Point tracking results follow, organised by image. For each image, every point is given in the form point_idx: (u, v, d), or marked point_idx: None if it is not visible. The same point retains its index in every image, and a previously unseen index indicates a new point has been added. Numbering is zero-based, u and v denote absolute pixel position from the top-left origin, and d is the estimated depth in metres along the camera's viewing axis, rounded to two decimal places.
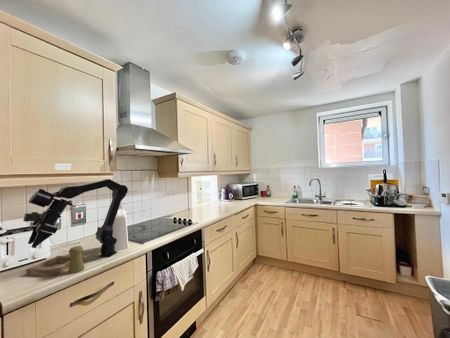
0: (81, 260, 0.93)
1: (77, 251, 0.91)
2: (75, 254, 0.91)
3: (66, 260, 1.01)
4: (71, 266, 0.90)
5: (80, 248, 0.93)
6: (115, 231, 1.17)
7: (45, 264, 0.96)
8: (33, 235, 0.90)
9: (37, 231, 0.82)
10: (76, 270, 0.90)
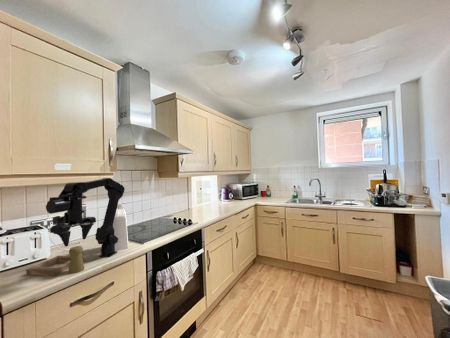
0: (81, 260, 0.93)
1: (77, 251, 0.91)
2: (75, 254, 0.91)
3: (66, 260, 1.01)
4: (71, 266, 0.90)
5: (80, 248, 0.93)
6: (115, 231, 1.17)
7: (45, 264, 0.96)
8: (83, 232, 0.98)
9: (55, 233, 0.86)
10: (76, 270, 0.90)
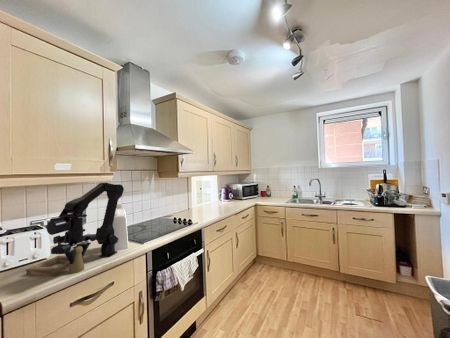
0: (81, 260, 0.93)
1: (77, 251, 0.91)
2: (75, 254, 0.91)
3: (66, 260, 1.01)
4: (71, 266, 0.90)
5: (80, 248, 0.93)
6: (115, 231, 1.17)
7: (45, 264, 0.96)
8: None
9: None
10: (76, 270, 0.90)
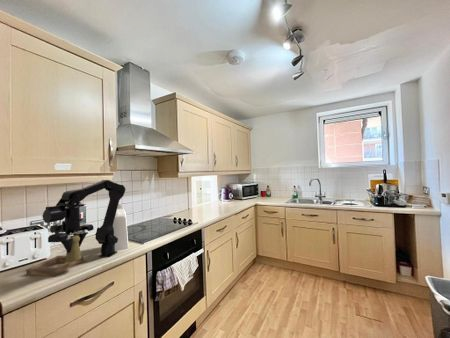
0: (78, 249, 0.93)
1: (74, 240, 0.92)
2: (72, 243, 0.91)
3: None
4: (68, 255, 0.91)
5: (77, 237, 0.93)
6: (115, 231, 1.17)
7: (45, 264, 0.96)
8: None
9: None
10: (73, 259, 0.91)
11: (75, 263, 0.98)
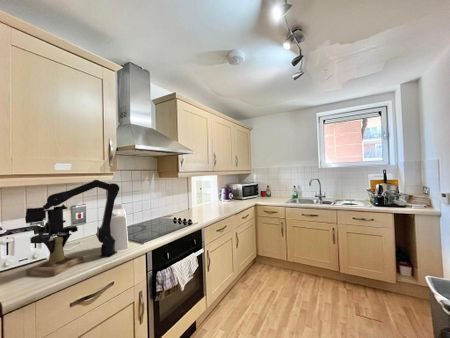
0: (61, 250, 0.97)
1: (57, 241, 0.95)
2: (55, 244, 0.95)
3: (66, 260, 1.01)
4: (51, 255, 0.94)
5: (60, 238, 0.97)
6: (115, 231, 1.17)
7: (45, 264, 0.96)
8: None
9: None
10: (56, 259, 0.94)
11: (75, 263, 0.98)
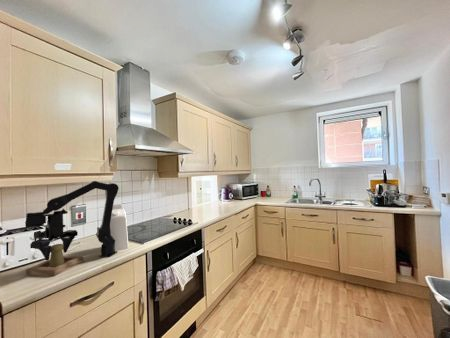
0: (61, 257, 0.97)
1: (57, 249, 0.95)
2: (55, 252, 0.95)
3: (66, 260, 1.01)
4: (51, 263, 0.94)
5: (60, 246, 0.96)
6: (115, 231, 1.17)
7: (45, 264, 0.96)
8: (64, 245, 1.01)
9: None
10: None
11: (75, 263, 0.98)
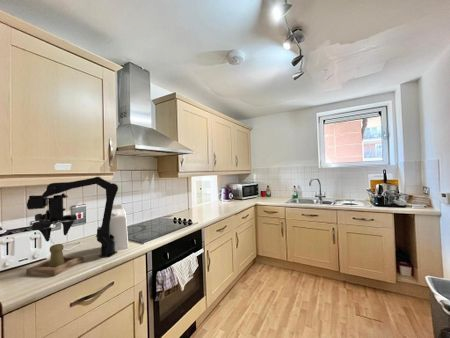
0: (61, 257, 0.97)
1: (57, 249, 0.95)
2: (55, 252, 0.95)
3: (66, 260, 1.01)
4: (51, 263, 0.94)
5: (60, 246, 0.96)
6: (115, 231, 1.17)
7: (45, 264, 0.96)
8: (64, 228, 1.05)
9: (37, 229, 0.94)
10: None
11: (75, 263, 0.98)
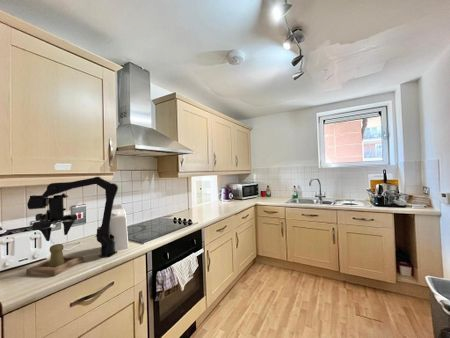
0: (61, 257, 0.97)
1: (57, 249, 0.95)
2: (55, 252, 0.95)
3: (66, 260, 1.01)
4: (51, 263, 0.94)
5: (60, 246, 0.96)
6: (115, 231, 1.17)
7: (45, 264, 0.96)
8: (65, 228, 1.06)
9: None
10: None
11: (75, 263, 0.98)
